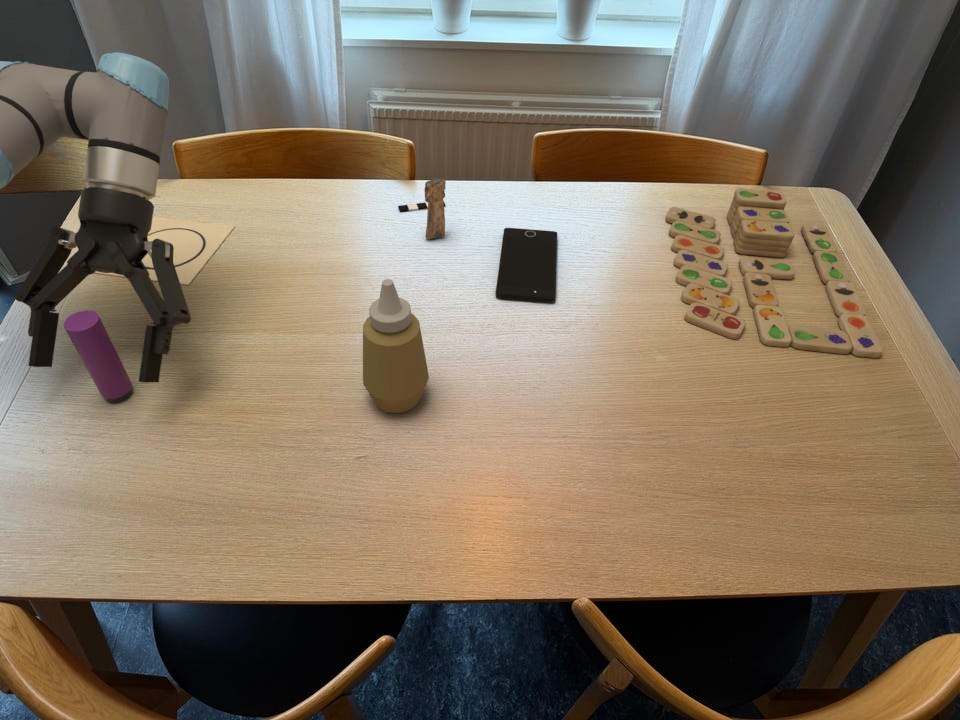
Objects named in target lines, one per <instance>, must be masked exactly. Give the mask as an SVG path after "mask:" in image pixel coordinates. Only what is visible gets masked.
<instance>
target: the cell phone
mask: <svg viewBox="0 0 960 720" xmlns="http://www.w3.org/2000/svg"><path fill="white" fill-rule="evenodd" d="M557 261H558V232H557V231H554V230H545V229H529V228H517V227H505V228H504V229H503V235H502V243H501V249H500V257H499V264H498V271H497V278H496V288H495V297H496V298H497V299H501V300H511V301H512V300H515V301H525V302H537V303H554V302H555V301H556V299H557V267H558V266H557V264H558V263H557Z"/></svg>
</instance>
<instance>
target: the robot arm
mask: <svg viewBox="0 0 960 720" xmlns="http://www.w3.org/2000/svg"><path fill="white" fill-rule="evenodd" d="M169 96H170V80H169V77H168V76H167V74H166V72H165V71H163V70H162V69H161V68H160V67H159V66H158V65H156V64H154V63H153V62H151V61H149V60H147V59H145V58H142V57H140V56H136V55H133V54H129V53H125V52H111V53H110V52H108V53H104V54H102V55H101V56H100V59H99V62H98V66H96V71H95V72H94V71H79V70H72V69H67V68H59V67H54V66H47V65H41V64H35V63H30V62H29V61H24V62H23V61H5V60H3V61H2V60H0V190H1V189H4V188H5V187H6V186H7V185H8V184H9V183H11V181H12V180H13V178H14V177H16V176H17V175H18V174H19V173H20V172H21V171H23V169H25V168H26V167H27V166H28V165H29V164H30V163H31V162H32V161H34V160H35V159H36V158H37V157H39V156H41V155H42V154H43V153H44V152H45V151H47V150H48V149H49V148H50V147H51V146H52V145H53V144H55V143H56V142H57V141H58V140H60V139H61V138H69V139H77V140H86V141H87V142H88V143H87V149H86V155H85V161H84V168H83V175H82V180H81V181H82V182H83V183H84V184H85V185H86V186H87V187H84V188H83V189H81V192H80V197H79V205H78V212H77V218H78V220H79V223H80V224H79V229H77V232H74V231H72V230H69V229H66V228H62V227H60V226H54V227H52V228H51V231H50V234H49V237H48V238H49V239H48V242H47V245H46V246H45V248H44V249H43V251H42V252H41V254H40V255H39V256H38V259H37V260H36V262H35V264H34V265H33V267H32V268H31V270H30V271H29V273H28V274H27V276H26V277H25V279H24V281H23V282H22V284H21V285H20V287H19V288H18V290H17V292H16V293H15V295H14V297H15V300H16V301H17V302H19V303H22V304H25V305H26V306H28V307H29V309H30V316H29V322H28V329H27V333H28V336H29V337H31V345H30V350H29V358H28V367H32V368H33V367H34V368H52V367H53V361H54V354H55V347H56V339H57V332H58V325H59V319H60V313H59V312H57V311H58V310H57V309H56V307H57V306H58V305H59V304H60V303H61V302H63V300H64V299H65V298H66V297H68V296H69V294H70V293H71V292H73V290H74V289H76V288H77V287H78V286H79V285H80V284H81V283H82V282H83V281H84V280H85V279H86V278H87V277H89V276H90V275H93V274H95V273H94V272H96V271H97V272H102V273H115V274H119V275H124V276H125V277H124V278H126V279H127V280H128V281H129V283H130V285H131V287H132V288H133V290H134V292H135V293H136V295H137V297H138V298H139V300H140V302H141V303H142V305H143V307H144V308H145V310H146V311H147V314H148V315H149V316H150V318H151V320H152V321H151V322H150V324H151V325H150V324H146V326H145V332H144V340H143V348H142V354H141V362H140V369H139V375H138V382H140V383H159V382H160V375H161V368H162V359H163V355H165V356H166V355H168V354H169V352H170V349H171V342H172V336H173V335H172V333H173V330H174V328H175V327H176V326H180V325H183V324H185V325H187V324H189V323H190V322H191V321H192V317H191V314H190V311H189V307H188V304H187V301H186V298H185V295H184V291H183V289H182V284H180V282H179V279H178V276H177V272H176V269H175V266H174V263H173V253H174V247H173V245H172V244H171V243H169V242H166V241H163V240H160V239H154V240H153V241H148V237H147V235H148V233H149V232H150V230H151V225H152V218H153V217H154V211H155V206H154V204H153V202H152V201H150V200H153V199H154V198H155V197H156V195H157V194H156V193H157V187H158V180H159V179H158V178H159V174H160V173H159V172H160V164H161V154H162V148H163V141H164V135H165V129H166V122H167V116H168V115H169ZM76 248H77V249H78V250H77V251H76V252H75V253H74V254H73V255H71V254H72V251H73V249H76ZM147 254H149V256H150V258H152V263H153V267H154V270H155V273H156V276H157V280H158V281H157V282H158V285H159V288H160V292H161V294H160V292H159V291H158V289H157V288H156V286H155V284H154V283H153V282H154V281H151V279H150V277H149V272H148V270H147V269H146V267H145V266H144V264H143V262H142V261H141V260H142V259H143V258H144V257H145V256H146V255H147ZM70 255H71V256H70ZM69 257H70V258H69ZM66 263H67V264H66ZM65 264H66V265H65ZM64 265H65V266H64ZM63 266H64V267H63Z"/></svg>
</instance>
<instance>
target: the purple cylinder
mask: <svg viewBox="0 0 960 720" xmlns="http://www.w3.org/2000/svg"><path fill="white" fill-rule="evenodd" d="M63 328H64V329H65V332H66V333H67V335H68V337H69V338H70V341H71V342H72V344H73V347H74V348H75V350H76V352H77V353H78V356H79V357H80V359H81V360H82V363H83V364H84V366H85V368H86V370H87V372H88V374H89V375H90V377H91V379H92V381H93V383H94V386H95V387H96V388H97V390H98V392H99V394H100V395H101V396H102V397H103V398H104V399H106V401H108V402H109V403H115V404H116V403H121V402H123V401H125V400H128V398H130V397H131V395H132V393H133V387H132V386H133V383H132V380H131V378H130V376H129V374H128V373H127V370H126V368H125V366H124V364H123V362H122V360H121V358H120V356H119V354H118V352H117V349H116V347H115V345H114V343H113V342H112V339H111V338H110V335H109V333H108V331H107V329H106V327H105V325H104V323H103V321H102V319H101V317H100V315H99V313H97V312H96V311H94V310H80V311H76V312H74V313H72V314H71V315H69V316H68V317H66V319H65V320H64V322H63Z"/></svg>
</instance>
